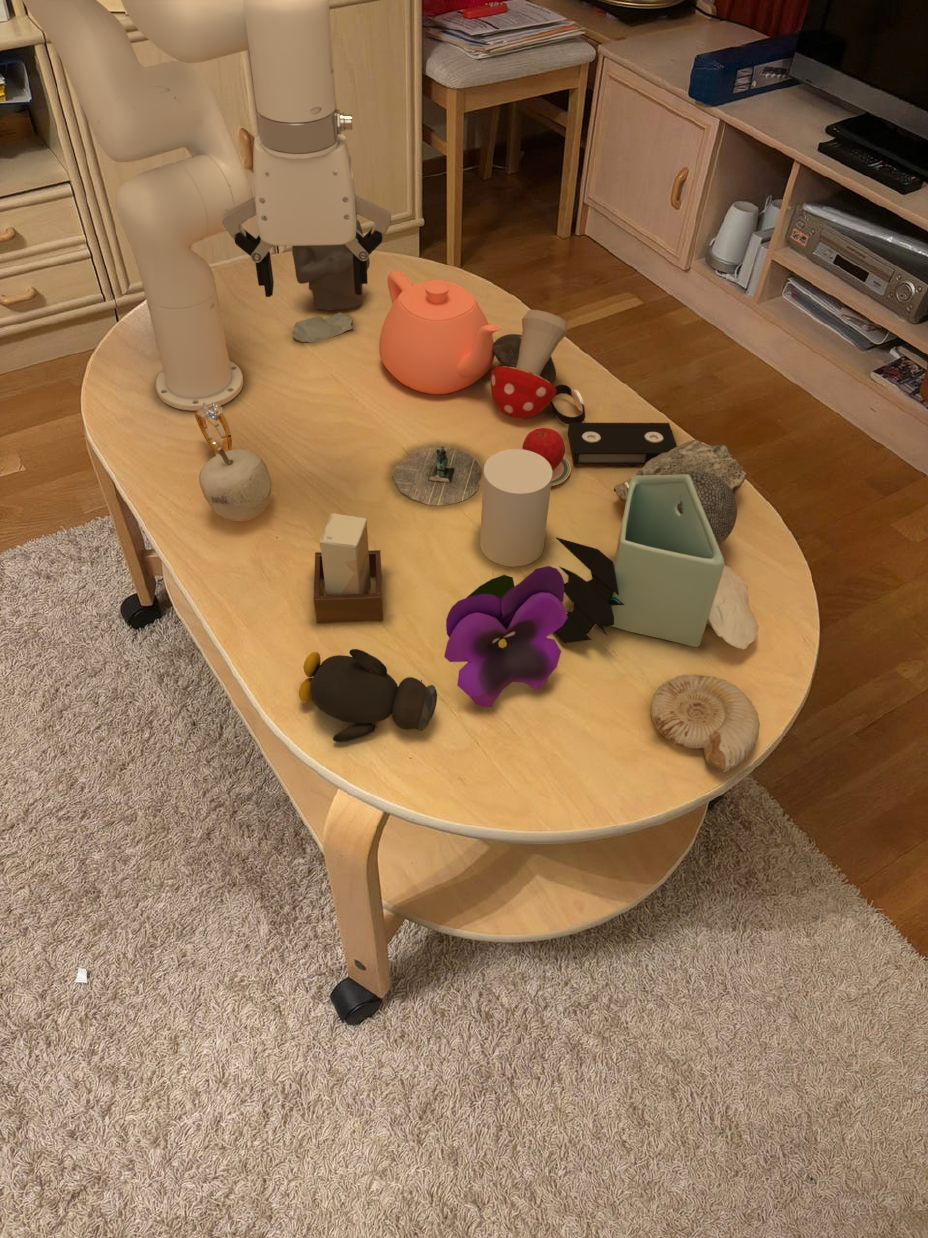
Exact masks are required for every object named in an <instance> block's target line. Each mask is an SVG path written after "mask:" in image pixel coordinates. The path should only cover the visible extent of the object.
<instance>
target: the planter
mask: <svg viewBox="0 0 928 1238" xmlns="http://www.w3.org/2000/svg"><path fill="white" fill-rule="evenodd" d="M635 475H636V474H635ZM635 475H633V476H632V477H631V480H630V484H629V489H628V494H627V499H626V502H625V504H624V508H623V509H624V510H623V514H622V520H621V526H620V530H619V535H618V541H617V546H616V549H615V556H614V560H613V565H614V570H615V576H616V581H617V587H618V592H619V596H618V595H617V594H616V593H615V592H614V594H613V596H612V597H613V598H616V599H618V600H619V601H621V602H622V603H623V604H625V605H613V606H611V607H612V611H613V615H614V625H612V626H611V627H614V628H617V629H620V630H624V631H625V632H626V631H627V632H630V633H635V634H640V635H643V636H646V637H651V638H652V637H653V638H657V639H661V640H665V641H670V642H674V643H677V644H682V645H685V646H689V647H694V648H699V647H700V646H701V643H702V640H703V637H704V633H705V630H706V628H707V625H708V624H707V621H708V618H709V615H710V612H711V608H712V605H713V602H714V599H715V596H716V592H717V589H718V586H719V583H720V580H721V576H722V572H723V568H724V565H725V559H724V557H723V554H722V552H721V549H720V546H719V545H718V544H717V541H716V539H715V536H714V534H713V531H712V529H711V527H710V524H709V522H708V519H707V517H706V515H705V512H704V510H703V507H702V505H701V502H700V500H699V497H698V495H697V492H696V490H695V487H694V485H693V482H692V479H691V477H690V476H689V475H688V474H679V475H636V476H635ZM681 501H682V510H683V513H682V514H680V513H679V511H678V508H677V505H678V504H679V503H680V502H681Z"/></svg>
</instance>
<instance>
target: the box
mask: <svg viewBox="0 0 928 1238" xmlns="http://www.w3.org/2000/svg"><path fill="white" fill-rule="evenodd" d="M368 534H369V533H368V519H367V518H365V517H360V516H353V515H347V514H339V513H335V512H334V513H333V512H332V513H331V514H330V515H329V517H328V520H327V523H326V525H325V527H324V530H323V532H322V536H321V538H320V540H319V545H320V552H321V554H322V563H323V573H324V579H323V582H324V590H325V596H339V595H364V594H369V593H370V591H371V588H372V587H371V586H372V582H371V577H370V564H369V551H370V550H369V538H368V537H369V535H368Z"/></svg>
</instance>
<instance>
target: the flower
mask: <svg viewBox="0 0 928 1238" xmlns="http://www.w3.org/2000/svg"><path fill="white" fill-rule="evenodd" d="M564 583H565V581H564V578H563V575H562V573H561V572H560V570H558V568H556V567H553V566H551V565H546V566H542V567H541V566H540V567H537V568H535V569H534V570H533V571H532V572H531V573H529V574H528V575H527V576H526V577H525V578H524V579H523V580H521V581H520V582H519V583H517V584H516V585H515V582H514V577H513V576H510V575H507V574H502V575H499V576H497V577H494V578H490V579H489V580H488V581H486V582H484V583H483V584H481V585H479V586H478V587H477V588H475V590H473V591H472V592H471V593H470V594H468V595H467V596H466V597H465V598H463V599H459V600H458V601H457V602H455V603H454V604H453V605H452V606H451V608H450V610H449V611H448V613H447V616H446V620H445V628H446V629H445V630H446V635H447V636H448V640H447V643H446V646H445V651H444V656H443V657H444V659H445V660H447V661H448V662H449V663H465V664H464V665H463V666H462V667H461V668H460V669H459V670H458V677H457V687H458V688H459V689H460V690H461V691H462V692H464V693H465V694H466V695H467V696H468V697H469V698H470V700H471V701H472V702H473V703H474V705H475V706H480V707H486V708H488V707H493V706H494V704H495V702H496V701H497V699H498V698H499V696H500V695H501V694H502V692H503V691H504V690H505V689H506V688H507V687H509V686H510V685H511V684H512V683H521V684H525V685H527V686H528V687H531V688H533V689H534V690H536V691H540V690H541V688H543V687H544V685H545V684H547V682H548V680H549V677H550V676H551V674H553V672H554V671H555V670H556V669H557V668H558V664H559V661H560V657H561V654H562V650H561V648H560V646H559V645H558V644H557V642H556V640H555V639H553V638H549V637H548V636H550V635H551V634H554V631H556V630H557V629H559V628H560V627H562V626H563V624H564V623H565V621H566V620H567V618H568V617H567V612H566V608H565V605H564V604H563V602H564V599H565V593H564Z"/></svg>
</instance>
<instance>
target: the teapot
mask: <svg viewBox="0 0 928 1238" xmlns="http://www.w3.org/2000/svg"><path fill="white" fill-rule="evenodd" d="M387 288H388V293H389V297H390V299H391V303H392V305H391V307H390V309H389V310H388V312H387V314H386V316H385V318H384V320H383V324H382V326H381V327H382V328H381V330H380V335H379V340H378V341H379V342H378V352H379V357H380V359H381V361H382V363H383V365H384V367H385V369H387V370H388V371H389V373H390V374H391V375H392V376H393V378H396V380H397V381H399V382H400V383H401V384H403V385H404V386H406V387H408V388H410V389H411V390H415V391H417V392H420V393H424V394H429V395H430V394H431V395H444V394H450V393H451V394H452V393H454V392H458V391H460V390H463V389H466V388H468V387H469V386H471V385H473V384H474V383H476V382H478V381H479V380H480V379H481V378H482V377H483V376H484V375H485V374H486V373H487V372H488V371H489V370H490V368H491V367H492V365H493V363H494V360H495V355H494V353H493V350H492V349H493V344H494V342H495V341H494V337H493V334H494V333H496V332H498V331H500V330H501V327H500V326H498V325H495V324H490V323H489V322H488V320H487V318H486V315H485V314H484V312H483V310H482V308H481V307H480V305H479V304H478V302H477V300H476V299H475V297H474V296H473V295H472V294H471V292H469V290H467V289H465V288H464V287H462V286H460V285H458V284H456V283H454V282H451V281H447V280H441V279H431V280H425V281H421V282H418V283H416V284H413V282H412V281H411V280H410V279H409V277H407V276H406V275H405V274H404V273H403V272H402V271H398V270H392V271H390V272H389V273H388V274H387Z"/></svg>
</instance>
